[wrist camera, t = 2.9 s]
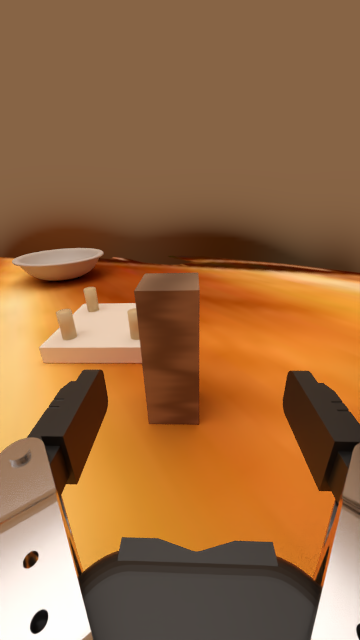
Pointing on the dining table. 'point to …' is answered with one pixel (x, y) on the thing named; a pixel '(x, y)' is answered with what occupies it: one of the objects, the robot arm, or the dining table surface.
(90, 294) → the peg stand
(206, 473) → the dining table surface
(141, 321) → the walnut post
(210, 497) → the dining table surface
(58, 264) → the soup bowl
